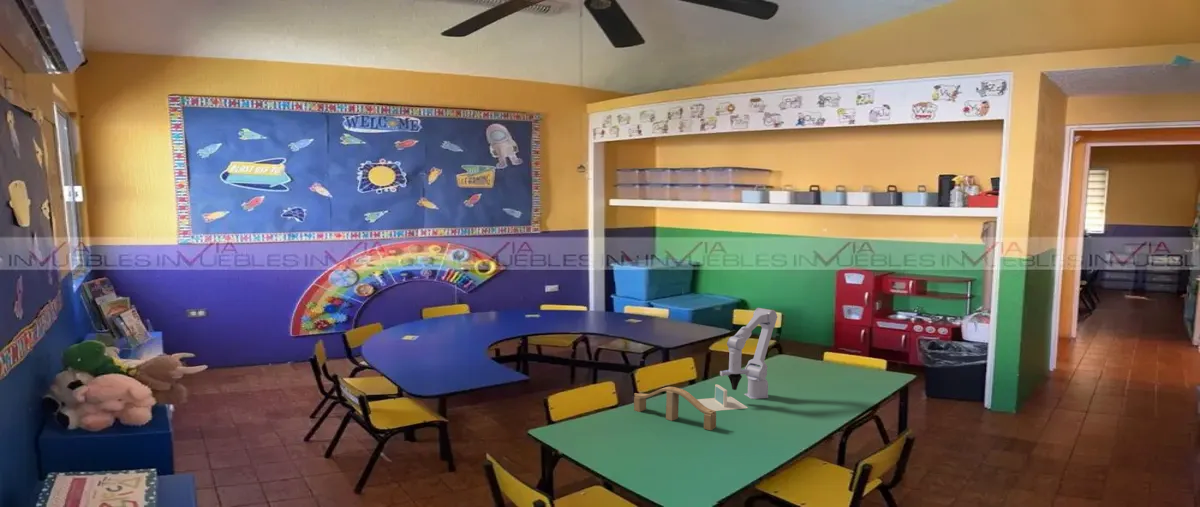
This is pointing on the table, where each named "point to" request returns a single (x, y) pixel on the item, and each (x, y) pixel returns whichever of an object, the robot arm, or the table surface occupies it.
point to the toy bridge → (673, 403)
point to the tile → (721, 395)
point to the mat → (716, 406)
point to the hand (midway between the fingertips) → (734, 389)
